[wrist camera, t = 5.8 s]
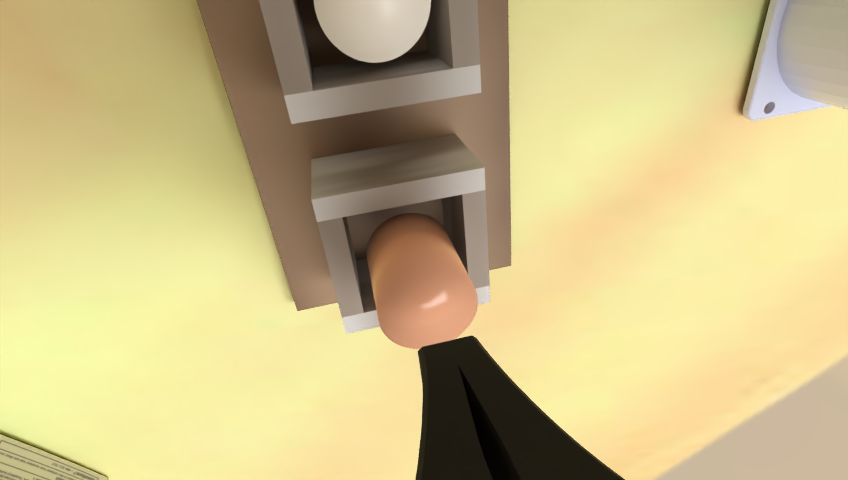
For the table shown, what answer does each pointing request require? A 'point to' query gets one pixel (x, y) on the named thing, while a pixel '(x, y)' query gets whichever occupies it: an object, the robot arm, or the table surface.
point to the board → (370, 139)
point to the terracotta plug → (419, 282)
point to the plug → (373, 26)
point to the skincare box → (38, 464)
